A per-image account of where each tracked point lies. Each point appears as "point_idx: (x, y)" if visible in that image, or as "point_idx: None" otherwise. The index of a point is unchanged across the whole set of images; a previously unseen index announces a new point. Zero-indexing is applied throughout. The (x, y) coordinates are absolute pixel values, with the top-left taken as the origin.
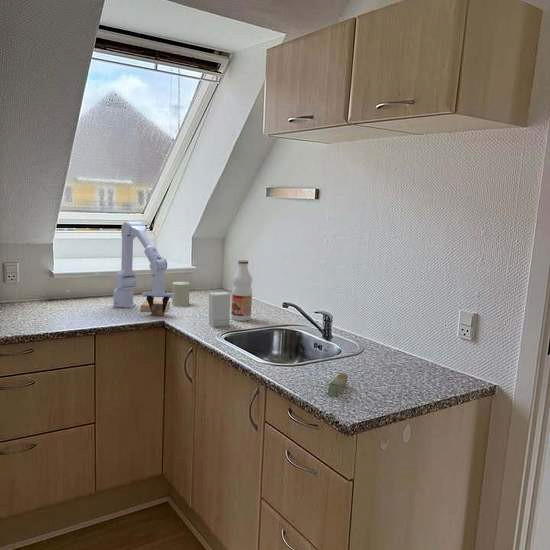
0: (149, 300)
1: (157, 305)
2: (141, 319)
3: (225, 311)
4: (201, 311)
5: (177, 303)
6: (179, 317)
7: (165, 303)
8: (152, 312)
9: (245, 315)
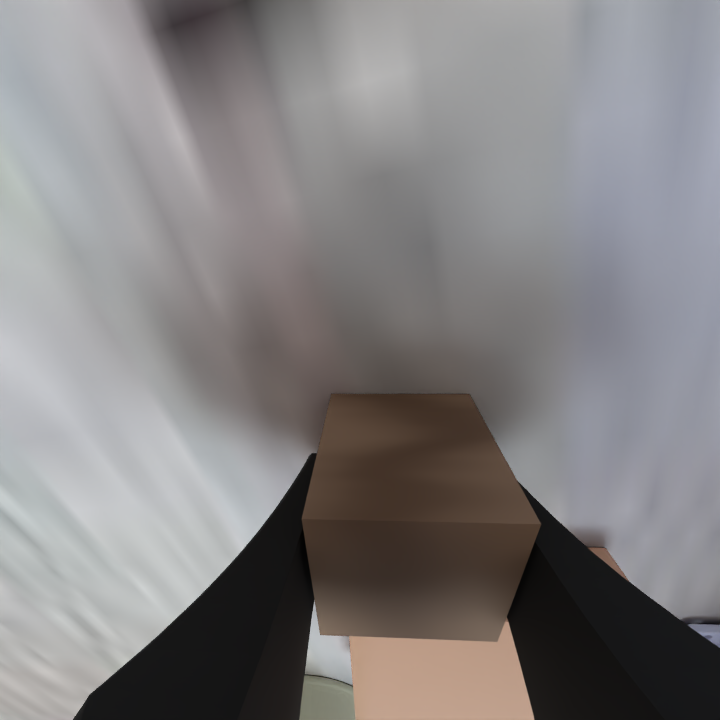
0: (706, 693)
1: (408, 538)
2: (628, 104)
3: None
4: (70, 593)
5: (312, 705)
6: (100, 374)
7: (214, 592)
8: (469, 421)
9: None
